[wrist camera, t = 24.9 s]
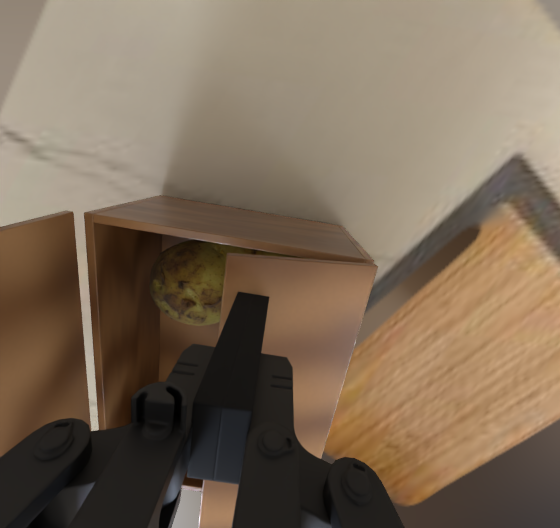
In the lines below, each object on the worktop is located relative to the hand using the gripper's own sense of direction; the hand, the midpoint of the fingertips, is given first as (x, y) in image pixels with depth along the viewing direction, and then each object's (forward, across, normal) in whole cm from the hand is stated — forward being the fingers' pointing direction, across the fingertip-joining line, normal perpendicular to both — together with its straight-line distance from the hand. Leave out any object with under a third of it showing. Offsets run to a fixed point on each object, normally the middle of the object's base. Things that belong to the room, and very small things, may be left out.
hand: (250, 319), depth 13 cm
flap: (+2, +2, -7) cm, 8 cm away
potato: (+12, -1, -2) cm, 12 cm away
